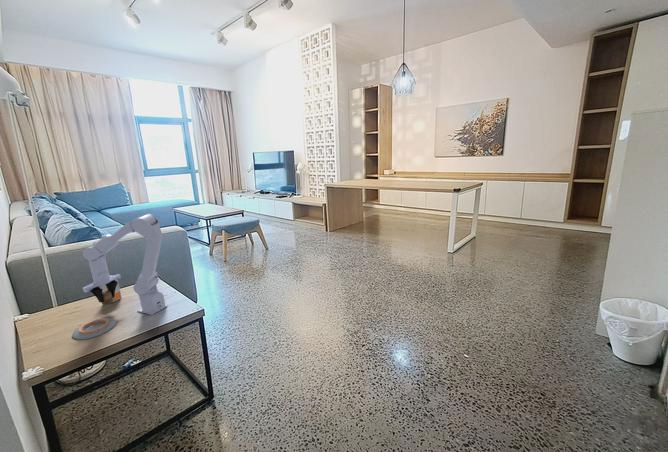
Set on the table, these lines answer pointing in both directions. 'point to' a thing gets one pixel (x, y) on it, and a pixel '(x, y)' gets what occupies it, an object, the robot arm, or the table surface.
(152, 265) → the robot arm
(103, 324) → the ring dish
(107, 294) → the brown rounded cylinder
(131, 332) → the table surface
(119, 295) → the skincare box
